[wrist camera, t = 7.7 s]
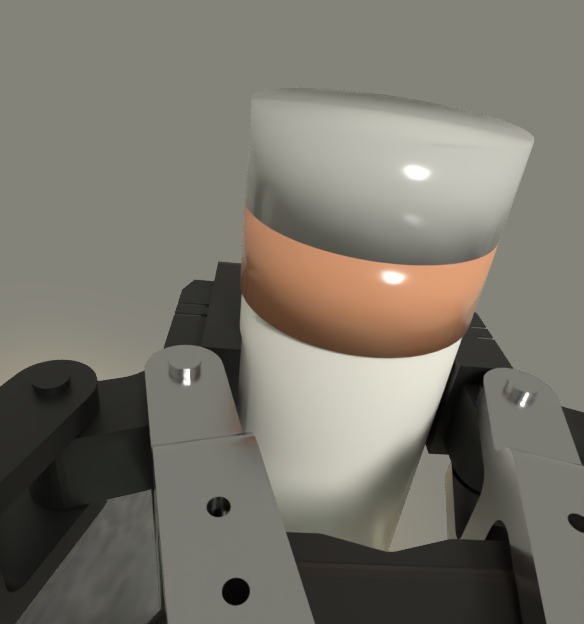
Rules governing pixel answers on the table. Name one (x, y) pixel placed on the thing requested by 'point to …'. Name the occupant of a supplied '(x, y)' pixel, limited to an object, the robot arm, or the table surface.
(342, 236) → the cylinder
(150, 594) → the table surface
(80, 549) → the table surface
